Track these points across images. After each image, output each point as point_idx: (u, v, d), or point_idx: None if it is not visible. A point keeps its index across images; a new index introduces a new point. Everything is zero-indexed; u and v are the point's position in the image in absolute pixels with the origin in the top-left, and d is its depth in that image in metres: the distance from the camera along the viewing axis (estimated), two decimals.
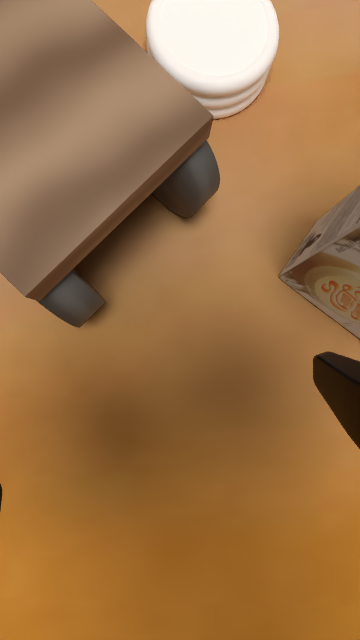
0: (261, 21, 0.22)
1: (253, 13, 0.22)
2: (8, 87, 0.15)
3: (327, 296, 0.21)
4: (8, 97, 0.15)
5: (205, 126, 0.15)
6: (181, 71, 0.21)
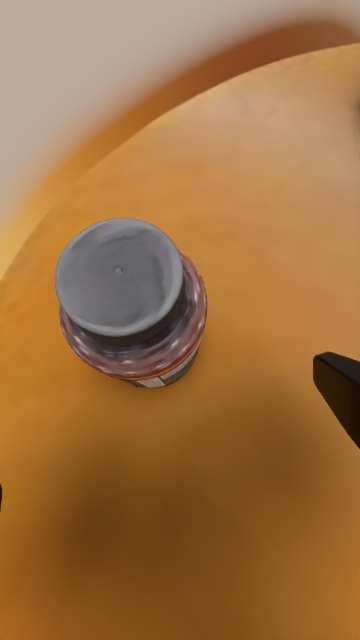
0: None
1: None
2: None
3: None
4: None
5: None
6: None
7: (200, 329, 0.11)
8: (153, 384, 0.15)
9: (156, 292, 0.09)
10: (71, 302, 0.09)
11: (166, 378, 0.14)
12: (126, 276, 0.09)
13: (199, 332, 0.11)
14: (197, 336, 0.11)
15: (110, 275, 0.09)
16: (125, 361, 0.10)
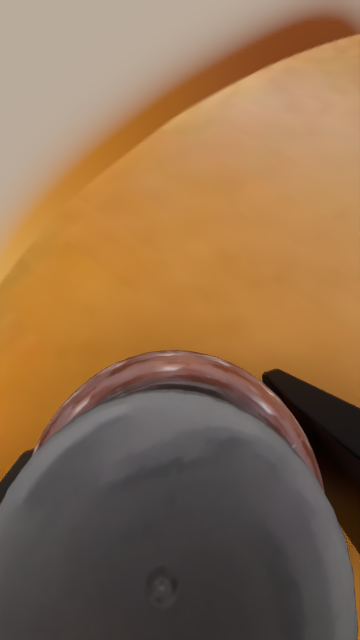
0: None
1: None
2: None
3: None
4: None
5: None
6: None
7: None
8: None
9: None
10: None
11: None
12: (189, 611, 0.03)
13: None
14: None
15: (137, 606, 0.03)
16: None
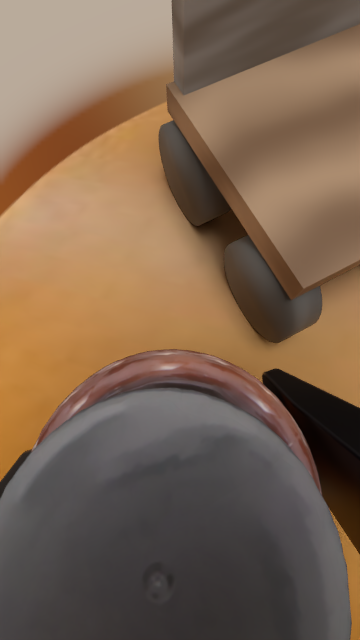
0: None
1: None
2: (323, 112, 0.16)
3: None
4: (322, 120, 0.16)
5: None
6: None
7: None
8: None
9: None
10: None
11: None
12: (185, 606, 0.03)
13: None
14: None
15: (134, 601, 0.03)
16: None
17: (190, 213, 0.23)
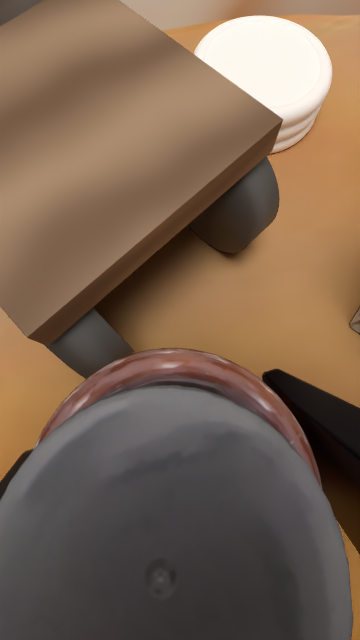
0: (313, 58, 0.21)
1: (303, 52, 0.21)
2: (39, 96, 0.13)
3: None
4: (39, 105, 0.12)
5: (272, 132, 0.12)
6: None
7: None
8: None
9: None
10: None
11: None
12: (187, 602, 0.03)
13: None
14: None
15: (137, 596, 0.03)
16: None
17: None
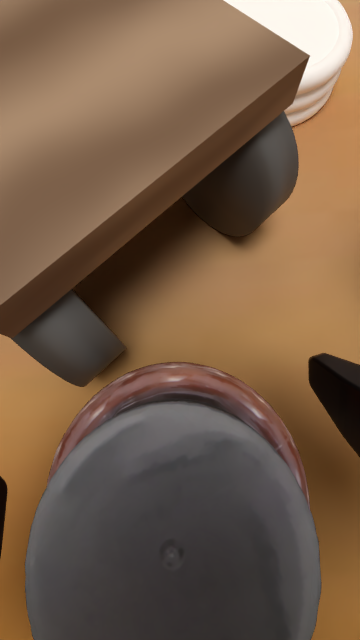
0: (330, 20, 0.18)
1: (320, 13, 0.19)
2: (8, 31, 0.10)
3: None
4: (6, 42, 0.10)
5: (296, 72, 0.10)
6: None
7: None
8: None
9: (266, 621, 0.04)
10: None
11: None
12: (192, 572, 0.04)
13: None
14: None
15: (152, 568, 0.04)
16: None
17: None
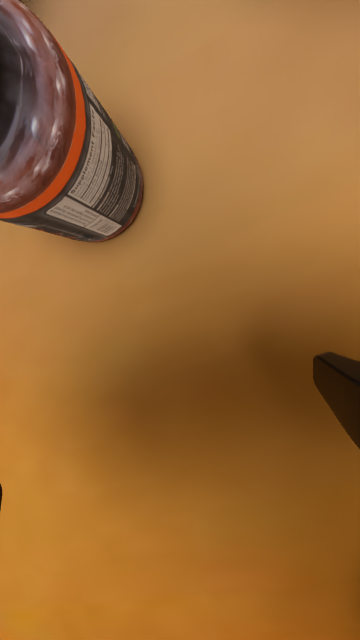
0: None
1: None
2: None
3: None
4: None
5: None
6: None
7: (64, 93, 0.08)
8: (94, 223, 0.13)
9: None
10: None
11: (96, 205, 0.12)
12: None
13: (65, 99, 0.08)
14: (65, 106, 0.08)
15: None
16: None
17: None
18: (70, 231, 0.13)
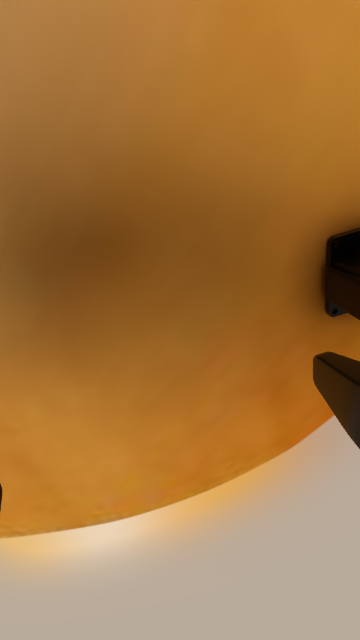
0: None
1: None
2: None
3: None
4: None
5: None
6: None
7: None
8: None
9: None
10: None
11: None
12: None
13: None
14: None
15: None
16: None
17: None
18: None
